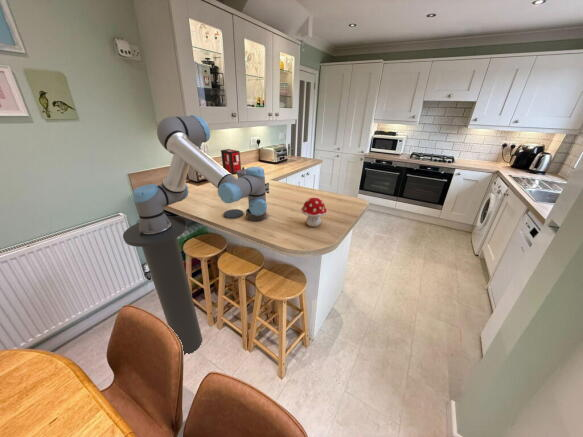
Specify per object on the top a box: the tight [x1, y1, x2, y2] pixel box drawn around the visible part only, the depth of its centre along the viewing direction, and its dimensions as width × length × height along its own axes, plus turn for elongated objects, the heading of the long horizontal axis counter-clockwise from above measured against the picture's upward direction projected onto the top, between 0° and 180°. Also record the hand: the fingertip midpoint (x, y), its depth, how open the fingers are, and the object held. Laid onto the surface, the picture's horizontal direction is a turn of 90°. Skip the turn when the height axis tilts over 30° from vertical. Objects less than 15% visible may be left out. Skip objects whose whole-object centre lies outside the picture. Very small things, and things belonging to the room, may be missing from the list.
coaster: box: [223, 208, 244, 220], centre depth 136 cm, size 11×11×1 cm
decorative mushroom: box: [300, 197, 328, 228], centre depth 123 cm, size 14×14×15 cm
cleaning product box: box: [220, 148, 242, 175], centre depth 219 cm, size 16×9×20 cm, turn 48°
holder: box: [245, 207, 268, 222], centre depth 133 cm, size 12×12×4 cm
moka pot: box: [236, 166, 247, 198], centre depth 163 cm, size 10×15×20 cm, turn 16°
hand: (253, 181), depth 130 cm, fingers closed on can, 8 cm apart
